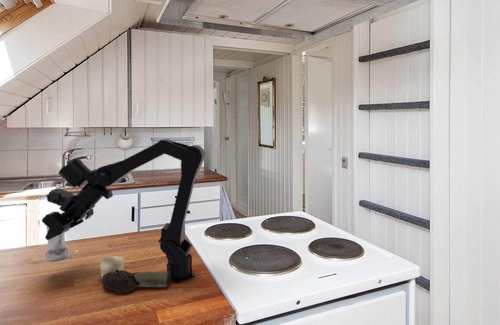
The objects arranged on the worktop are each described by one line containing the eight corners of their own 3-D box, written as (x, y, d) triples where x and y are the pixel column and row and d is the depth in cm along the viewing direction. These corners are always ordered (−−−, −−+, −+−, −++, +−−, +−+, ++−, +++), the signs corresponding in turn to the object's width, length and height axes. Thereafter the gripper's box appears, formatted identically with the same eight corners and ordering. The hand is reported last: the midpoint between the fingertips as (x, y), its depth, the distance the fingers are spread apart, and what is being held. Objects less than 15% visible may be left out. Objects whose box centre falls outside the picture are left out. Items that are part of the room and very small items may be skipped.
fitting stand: (120, 270, 106) (119, 254, 106) (128, 277, 101) (127, 260, 101) (97, 276, 102) (96, 260, 101) (104, 284, 97) (104, 267, 96)
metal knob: (66, 252, 105) (63, 214, 104) (71, 257, 100) (68, 218, 99) (44, 257, 101) (41, 218, 100) (48, 263, 97) (45, 222, 95)
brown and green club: (169, 282, 98) (169, 263, 97) (166, 294, 91) (165, 274, 91) (106, 285, 96) (105, 266, 96) (97, 297, 90) (96, 277, 89)
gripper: (81, 174, 108) (49, 209, 109) (46, 185, 89) (7, 226, 90) (107, 199, 108) (75, 233, 110) (78, 214, 90) (40, 255, 91)
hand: (51, 236), depth 100 cm, fingers closed on metal knob, 4 cm apart
